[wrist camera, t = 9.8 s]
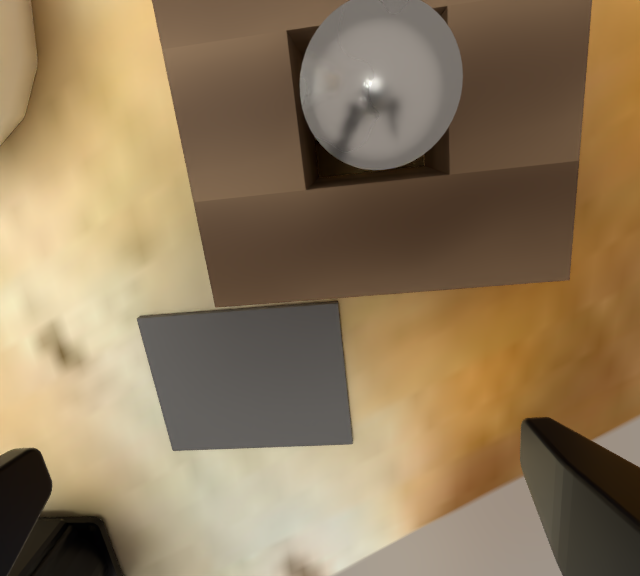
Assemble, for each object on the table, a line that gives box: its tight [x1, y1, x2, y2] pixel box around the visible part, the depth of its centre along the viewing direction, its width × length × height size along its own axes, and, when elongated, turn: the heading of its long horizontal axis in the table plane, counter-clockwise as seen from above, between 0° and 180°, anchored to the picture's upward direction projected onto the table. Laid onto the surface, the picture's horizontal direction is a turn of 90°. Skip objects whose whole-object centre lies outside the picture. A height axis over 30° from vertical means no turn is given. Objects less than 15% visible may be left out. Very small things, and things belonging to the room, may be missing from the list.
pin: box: [300, 0, 463, 170], centre depth 13 cm, size 3×3×10 cm
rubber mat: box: [137, 301, 353, 451], centre depth 22 cm, size 8×10×1 cm
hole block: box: [152, 0, 592, 307], centre depth 15 cm, size 12×12×5 cm
